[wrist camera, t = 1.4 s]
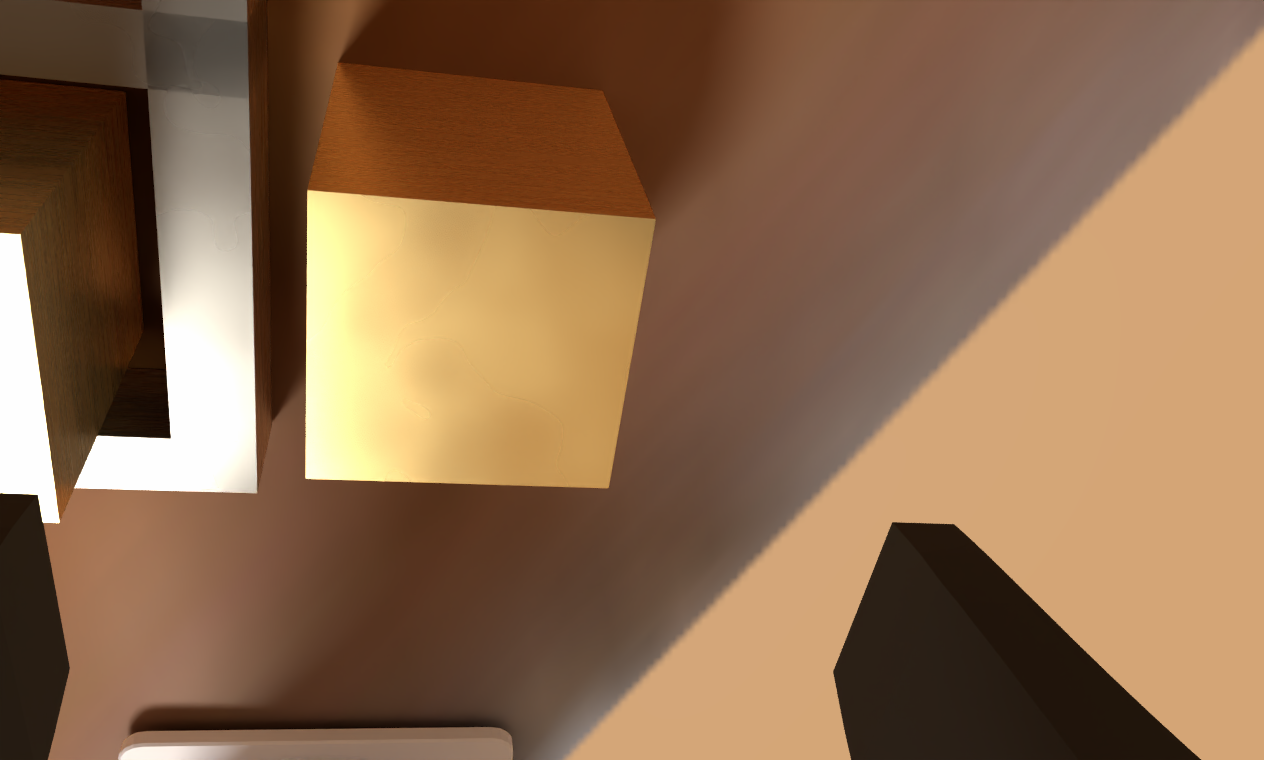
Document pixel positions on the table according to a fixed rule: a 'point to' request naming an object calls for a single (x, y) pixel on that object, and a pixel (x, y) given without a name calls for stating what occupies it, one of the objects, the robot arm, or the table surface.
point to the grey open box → (133, 248)
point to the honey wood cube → (470, 281)
